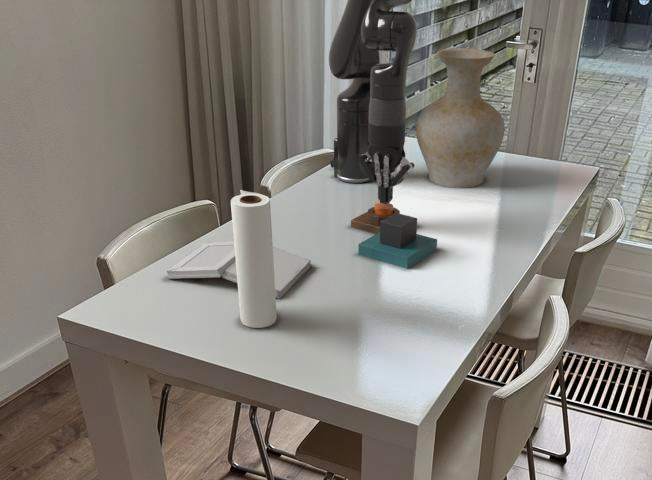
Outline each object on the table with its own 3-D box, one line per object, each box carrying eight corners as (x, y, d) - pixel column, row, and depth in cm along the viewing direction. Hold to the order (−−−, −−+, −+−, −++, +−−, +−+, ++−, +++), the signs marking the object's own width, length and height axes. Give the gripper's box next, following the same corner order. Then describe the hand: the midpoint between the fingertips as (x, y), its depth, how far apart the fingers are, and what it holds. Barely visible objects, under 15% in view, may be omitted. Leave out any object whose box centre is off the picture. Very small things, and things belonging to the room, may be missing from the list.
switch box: (350, 227, 167) (350, 212, 165) (373, 215, 174) (374, 200, 172) (393, 239, 162) (394, 223, 160) (415, 226, 169) (416, 211, 167)
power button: (370, 213, 166) (371, 206, 165) (380, 208, 169) (381, 201, 168) (386, 217, 164) (386, 210, 163) (396, 212, 167) (396, 204, 166)
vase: (418, 163, 207) (424, 43, 191) (499, 168, 205) (512, 47, 189) (409, 189, 189) (414, 59, 173) (498, 195, 187) (512, 64, 171)
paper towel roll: (270, 330, 128) (263, 206, 116) (235, 327, 129) (224, 203, 117) (282, 311, 134) (277, 191, 122) (249, 307, 135) (240, 188, 123)
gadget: (311, 266, 150) (311, 248, 148) (280, 299, 138) (279, 280, 136) (206, 249, 155) (204, 232, 153) (166, 279, 143) (164, 261, 141)
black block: (379, 254, 155) (380, 221, 152) (395, 245, 160) (396, 212, 156) (400, 260, 153) (401, 227, 149) (415, 250, 158) (417, 218, 154)
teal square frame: (358, 255, 155) (358, 243, 154) (389, 237, 163) (389, 226, 162) (407, 269, 150) (407, 257, 148) (436, 250, 158) (437, 239, 157)
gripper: (424, 121, 155) (420, 204, 165) (370, 111, 161) (369, 192, 171) (405, 128, 150) (402, 214, 159) (349, 118, 156) (349, 201, 165)
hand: (385, 202), depth 165 cm, fingers closed
